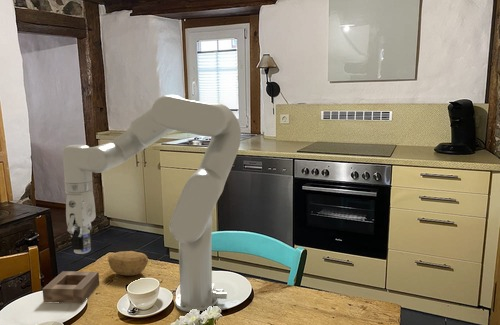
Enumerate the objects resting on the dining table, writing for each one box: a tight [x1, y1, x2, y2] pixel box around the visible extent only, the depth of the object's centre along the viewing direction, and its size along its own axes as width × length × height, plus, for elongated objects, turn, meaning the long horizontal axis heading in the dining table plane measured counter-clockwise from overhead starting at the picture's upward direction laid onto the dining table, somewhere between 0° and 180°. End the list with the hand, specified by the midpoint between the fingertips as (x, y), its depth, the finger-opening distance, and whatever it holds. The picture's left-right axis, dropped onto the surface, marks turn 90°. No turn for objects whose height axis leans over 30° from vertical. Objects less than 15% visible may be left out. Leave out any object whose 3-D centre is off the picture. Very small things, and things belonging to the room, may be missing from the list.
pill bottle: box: [73, 224, 92, 255], centre depth 119 cm, size 5×5×8 cm
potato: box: [107, 250, 149, 277], centre depth 138 cm, size 10×14×8 cm
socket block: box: [42, 270, 100, 304], centre depth 125 cm, size 12×12×4 cm
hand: (82, 245), depth 120 cm, fingers closed on pill bottle, 4 cm apart
